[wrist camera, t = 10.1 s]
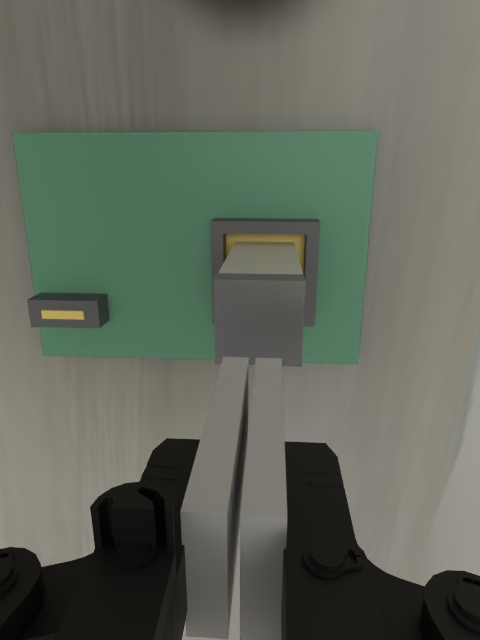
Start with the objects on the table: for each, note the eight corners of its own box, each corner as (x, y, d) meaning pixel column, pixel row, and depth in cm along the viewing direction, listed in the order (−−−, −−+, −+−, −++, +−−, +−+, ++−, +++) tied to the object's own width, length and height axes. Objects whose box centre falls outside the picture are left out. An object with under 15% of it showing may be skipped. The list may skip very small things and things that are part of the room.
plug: (235, 240, 32) (213, 279, 20) (294, 241, 31) (305, 281, 20) (235, 297, 33) (215, 364, 22) (292, 298, 33) (301, 366, 21)
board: (19, 133, 32) (-8, 129, 29) (374, 131, 30) (386, 127, 27) (49, 350, 37) (29, 366, 34) (355, 358, 35) (363, 376, 32)
